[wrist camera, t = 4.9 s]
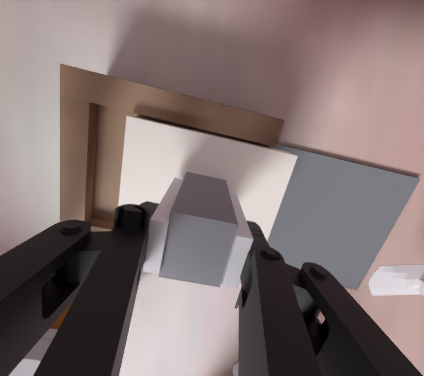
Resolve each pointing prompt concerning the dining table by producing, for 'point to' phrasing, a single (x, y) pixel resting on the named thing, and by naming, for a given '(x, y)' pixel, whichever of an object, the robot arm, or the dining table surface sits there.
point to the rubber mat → (337, 214)
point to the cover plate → (204, 157)
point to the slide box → (115, 133)
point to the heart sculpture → (397, 280)
